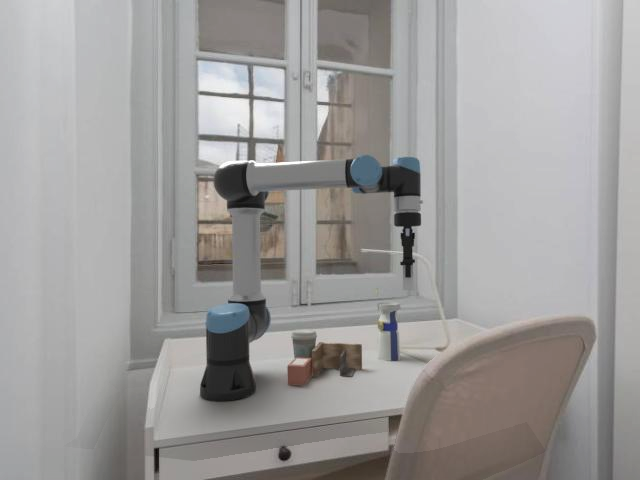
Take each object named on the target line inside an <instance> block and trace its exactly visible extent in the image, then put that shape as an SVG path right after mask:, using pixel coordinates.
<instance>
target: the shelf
mask: <svg viewBox="0 0 640 480" xmlns="http://www.w3.org/2000/svg"><path fill="white" fill-rule="evenodd" d="M323 369H337V370H339V376H340V377H348V378H349V377H353V375H354V373H355V370H357V371H362V370H363V344H362V343H349V342H346V343H345V342H344V343H343V342H321V341H319V342H318V343H317V345H315V348H314V349H313V350H312V376H311V378H317V376H318V375H319V373H320V372H321V371H322V370H323Z"/></svg>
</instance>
